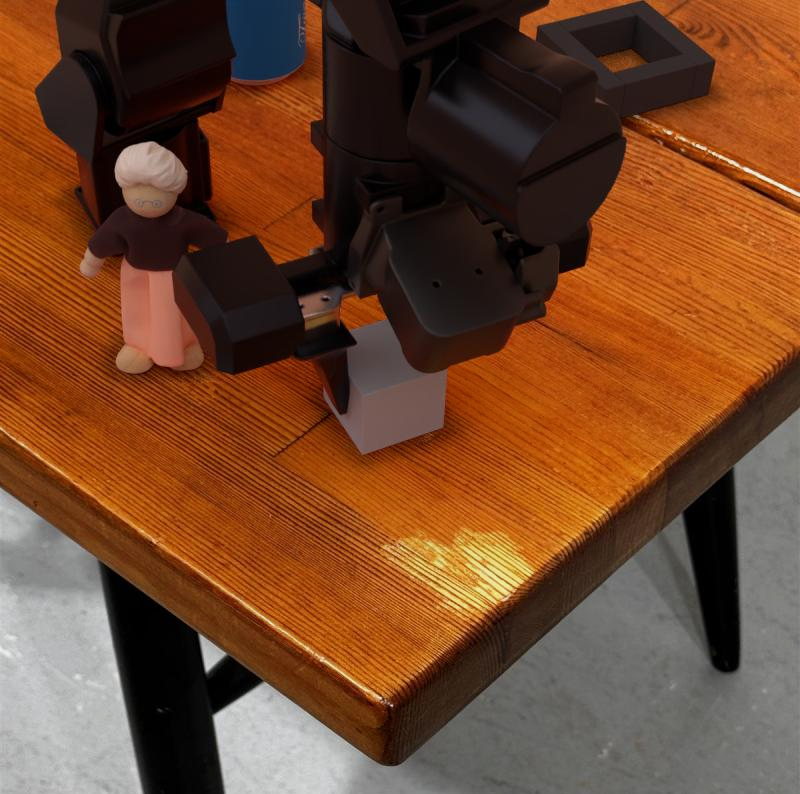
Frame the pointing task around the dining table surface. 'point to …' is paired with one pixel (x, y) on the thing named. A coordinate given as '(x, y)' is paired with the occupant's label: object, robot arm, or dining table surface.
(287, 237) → the dining table surface
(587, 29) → the dark grey square frame
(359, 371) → the light grey cube
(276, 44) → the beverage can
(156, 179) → the grandmother figurine
